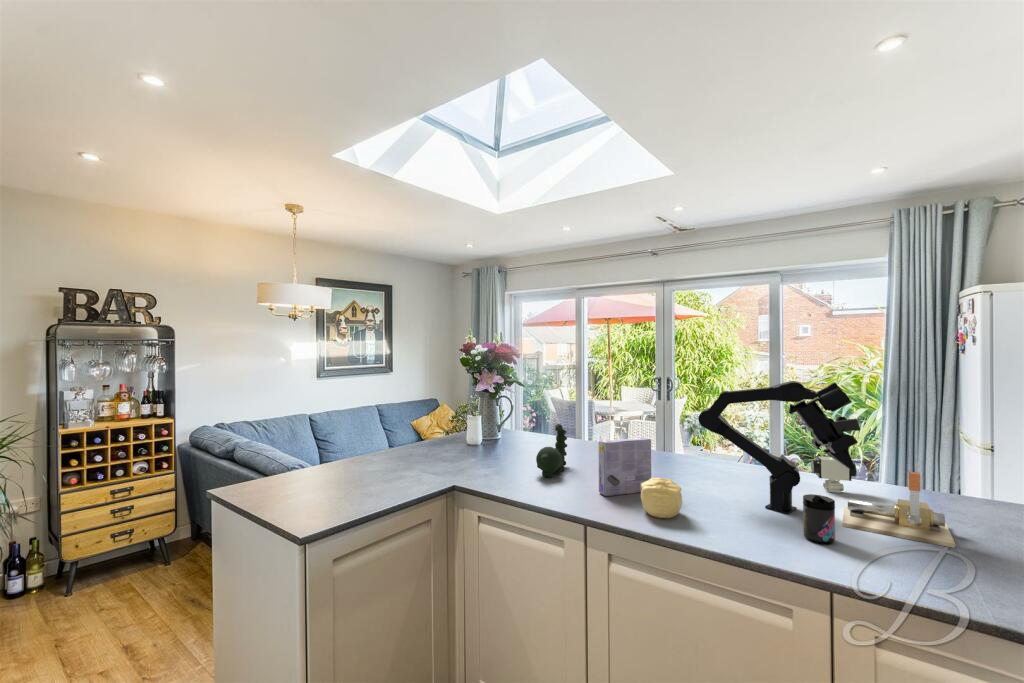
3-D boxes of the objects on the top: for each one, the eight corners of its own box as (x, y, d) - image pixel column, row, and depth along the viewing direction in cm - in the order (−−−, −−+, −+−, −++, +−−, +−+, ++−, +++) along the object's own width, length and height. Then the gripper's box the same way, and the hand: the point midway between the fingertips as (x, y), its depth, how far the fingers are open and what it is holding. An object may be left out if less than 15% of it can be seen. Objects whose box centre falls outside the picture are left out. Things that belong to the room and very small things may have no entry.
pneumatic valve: (857, 496, 146) (856, 458, 146) (814, 491, 151) (813, 455, 151) (851, 490, 151) (851, 454, 151) (810, 486, 156) (810, 451, 156)
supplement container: (813, 545, 112) (812, 503, 112) (797, 534, 119) (797, 494, 119) (841, 546, 111) (841, 503, 111) (824, 534, 118) (824, 494, 118)
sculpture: (639, 519, 129) (639, 481, 129) (642, 505, 141) (642, 470, 141) (682, 524, 125) (682, 485, 125) (682, 509, 137) (681, 473, 137)
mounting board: (842, 526, 123) (842, 522, 123) (844, 509, 135) (844, 506, 135) (955, 548, 110) (955, 543, 110) (946, 527, 122) (946, 523, 122)
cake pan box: (646, 486, 158) (645, 435, 158) (655, 490, 154) (654, 438, 154) (597, 492, 152) (596, 440, 152) (605, 497, 148) (604, 443, 148)
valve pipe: (847, 516, 128) (847, 496, 128) (848, 510, 132) (848, 491, 132) (945, 533, 115) (945, 511, 115) (942, 527, 119) (942, 505, 119)
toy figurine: (550, 468, 188) (529, 479, 165) (551, 422, 190) (530, 427, 167) (572, 470, 185) (554, 482, 162) (573, 423, 186) (555, 428, 163)
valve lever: (907, 525, 118) (907, 472, 118) (907, 522, 120) (906, 471, 120) (922, 527, 116) (921, 474, 116) (921, 525, 118) (920, 472, 118)
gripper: (855, 405, 121) (897, 458, 117) (831, 406, 139) (867, 452, 134) (815, 426, 123) (855, 479, 119) (797, 424, 141) (831, 470, 136)
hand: (853, 469), depth 127 cm, fingers closed
